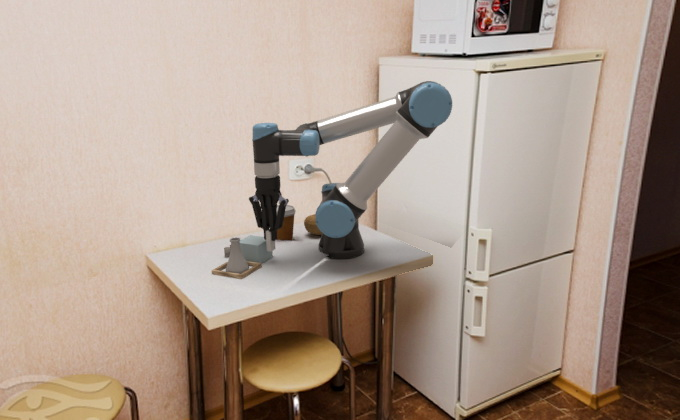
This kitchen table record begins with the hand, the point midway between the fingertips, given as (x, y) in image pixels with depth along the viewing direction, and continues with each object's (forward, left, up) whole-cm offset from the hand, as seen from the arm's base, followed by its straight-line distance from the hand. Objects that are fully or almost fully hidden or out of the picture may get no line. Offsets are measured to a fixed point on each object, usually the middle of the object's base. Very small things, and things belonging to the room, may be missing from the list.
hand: (271, 250), depth 175 cm
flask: (+6, +10, -4) cm, 12 cm away
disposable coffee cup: (+9, -23, -5) cm, 25 cm away
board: (+9, +5, -5) cm, 12 cm away
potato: (0, -35, -5) cm, 35 cm away
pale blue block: (+6, 0, -4) cm, 7 cm away
